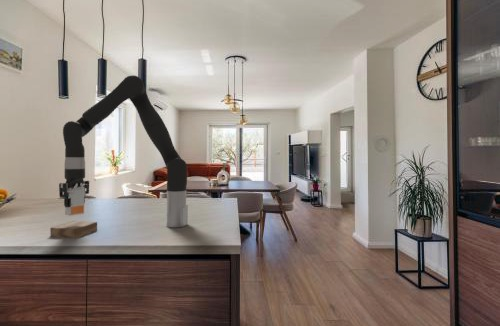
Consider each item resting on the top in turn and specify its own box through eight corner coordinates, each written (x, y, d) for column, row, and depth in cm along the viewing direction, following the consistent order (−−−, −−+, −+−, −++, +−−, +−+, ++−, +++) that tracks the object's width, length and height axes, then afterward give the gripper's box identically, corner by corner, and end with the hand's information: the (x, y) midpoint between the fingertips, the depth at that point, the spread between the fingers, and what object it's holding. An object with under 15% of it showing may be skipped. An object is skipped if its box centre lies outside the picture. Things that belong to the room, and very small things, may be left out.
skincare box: (69, 216, 111) (69, 187, 110) (64, 214, 113) (64, 187, 113) (84, 213, 116) (84, 186, 116) (80, 212, 118) (79, 186, 118)
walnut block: (97, 230, 120) (97, 222, 119) (76, 238, 108) (76, 229, 108) (73, 229, 121) (73, 221, 121) (50, 237, 109) (50, 227, 109)
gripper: (69, 168, 106) (69, 209, 107) (94, 167, 121) (94, 203, 121) (52, 168, 107) (52, 208, 108) (80, 167, 122) (80, 202, 122)
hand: (75, 205), depth 114 cm, fingers closed on skincare box, 7 cm apart
